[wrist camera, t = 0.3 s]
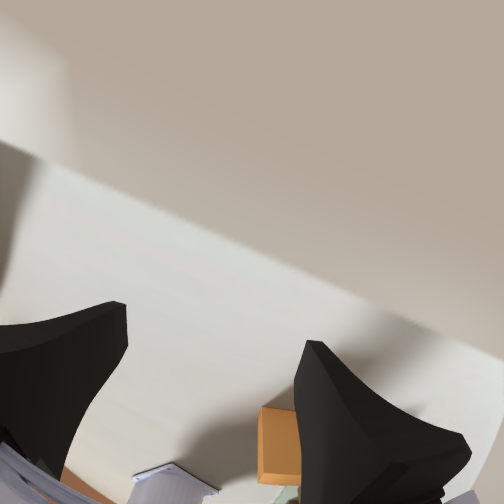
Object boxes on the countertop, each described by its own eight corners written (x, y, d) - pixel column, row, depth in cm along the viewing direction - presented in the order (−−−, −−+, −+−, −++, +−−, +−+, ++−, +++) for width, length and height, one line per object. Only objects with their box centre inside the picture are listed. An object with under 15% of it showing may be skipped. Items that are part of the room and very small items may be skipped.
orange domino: (307, 424, 22) (321, 485, 14) (257, 418, 22) (257, 483, 14) (313, 413, 22) (330, 475, 14) (261, 406, 22) (263, 472, 14)
